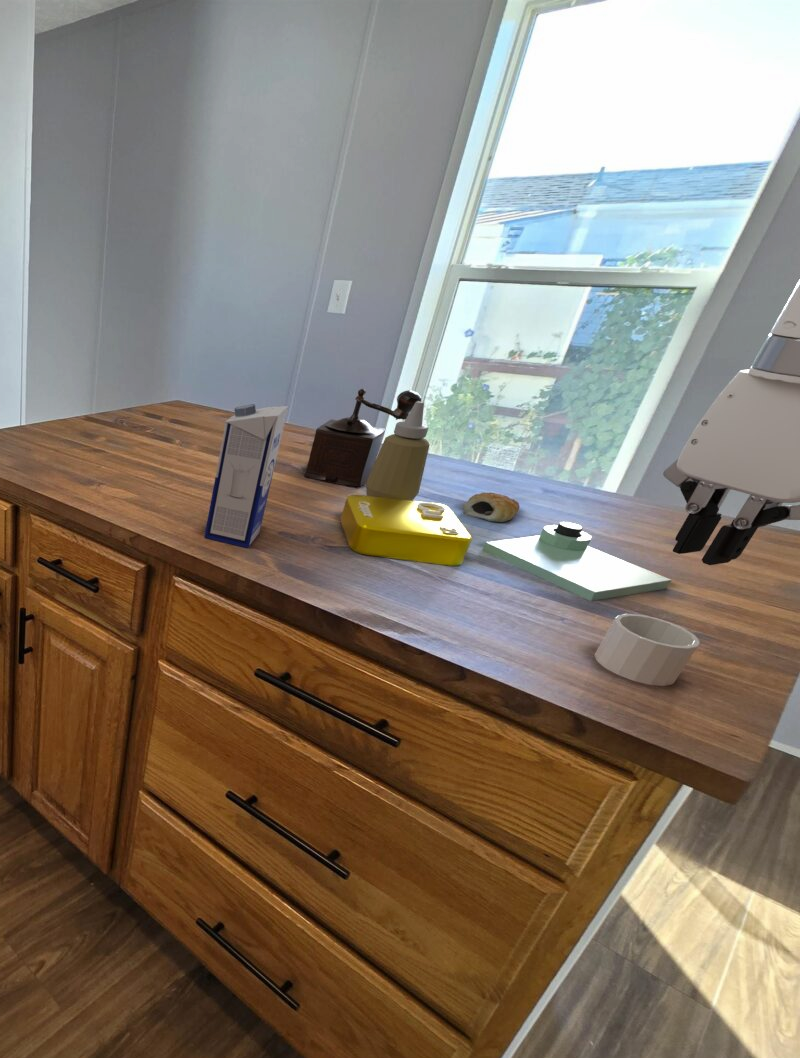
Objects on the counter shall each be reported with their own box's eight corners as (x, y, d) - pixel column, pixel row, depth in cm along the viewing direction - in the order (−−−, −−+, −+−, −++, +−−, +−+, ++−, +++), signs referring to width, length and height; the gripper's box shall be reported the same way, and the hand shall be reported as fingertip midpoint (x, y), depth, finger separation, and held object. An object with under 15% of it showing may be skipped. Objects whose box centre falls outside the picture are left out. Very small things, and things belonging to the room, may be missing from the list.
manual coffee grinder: (301, 477, 127) (325, 381, 118) (317, 464, 134) (341, 372, 125) (389, 496, 118) (422, 394, 109) (401, 480, 126) (433, 384, 117)
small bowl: (687, 685, 69) (716, 642, 67) (641, 695, 68) (669, 652, 65) (620, 651, 75) (644, 610, 72) (576, 659, 73) (599, 618, 71)
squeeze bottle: (407, 520, 108) (445, 411, 99) (354, 508, 113) (387, 402, 104) (415, 506, 114) (452, 401, 105) (365, 495, 118) (396, 394, 109)
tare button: (582, 537, 97) (587, 528, 96) (568, 539, 96) (573, 530, 95) (564, 530, 99) (568, 520, 98) (550, 532, 98) (554, 522, 98)
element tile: (338, 517, 109) (346, 489, 107) (439, 529, 105) (449, 501, 103) (350, 553, 97) (360, 523, 94) (465, 569, 93) (478, 538, 91)
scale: (668, 588, 89) (680, 569, 87) (590, 601, 85) (601, 581, 84) (553, 540, 102) (562, 523, 101) (481, 550, 99) (489, 532, 97)
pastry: (485, 503, 116) (494, 482, 114) (527, 516, 111) (537, 495, 109) (457, 513, 112) (465, 491, 110) (499, 527, 107) (509, 505, 105)
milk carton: (248, 548, 98) (278, 414, 88) (203, 538, 101) (227, 407, 91) (259, 532, 103) (289, 404, 93) (217, 523, 106) (241, 397, 96)
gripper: (988, 378, 50) (831, 590, 59) (736, 346, 63) (640, 523, 72) (927, 382, 48) (775, 600, 57) (681, 348, 61) (590, 529, 70)
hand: (701, 555), depth 64 cm, fingers closed
